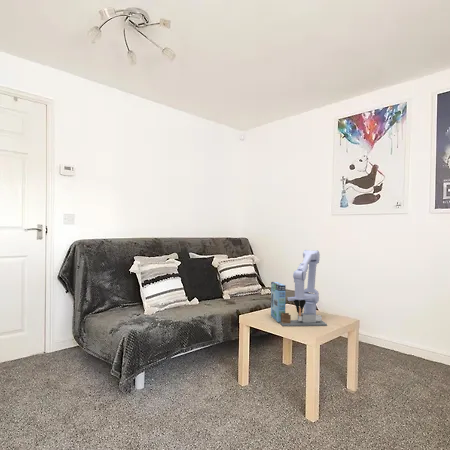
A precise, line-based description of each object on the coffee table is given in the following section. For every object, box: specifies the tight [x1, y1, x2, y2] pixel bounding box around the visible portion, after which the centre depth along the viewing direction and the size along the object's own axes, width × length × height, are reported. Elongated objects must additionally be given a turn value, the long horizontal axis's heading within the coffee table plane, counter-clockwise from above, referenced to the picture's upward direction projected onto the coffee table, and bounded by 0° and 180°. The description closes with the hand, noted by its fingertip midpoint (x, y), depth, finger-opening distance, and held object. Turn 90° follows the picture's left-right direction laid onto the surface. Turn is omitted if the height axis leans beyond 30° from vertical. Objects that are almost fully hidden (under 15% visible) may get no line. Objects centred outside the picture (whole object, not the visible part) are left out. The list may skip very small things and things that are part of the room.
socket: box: [281, 312, 292, 323], centre depth 202 cm, size 5×5×5 cm
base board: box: [279, 319, 328, 327], centre depth 202 cm, size 10×27×1 cm, turn 93°
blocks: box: [297, 306, 323, 321], centre depth 203 cm, size 3×14×8 cm, turn 93°
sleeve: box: [301, 312, 317, 323], centre depth 202 cm, size 5×8×5 cm, turn 93°
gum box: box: [270, 281, 287, 324], centre depth 214 cm, size 20×5×23 cm, turn 5°
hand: (299, 312), depth 202 cm, fingers closed on blocks
